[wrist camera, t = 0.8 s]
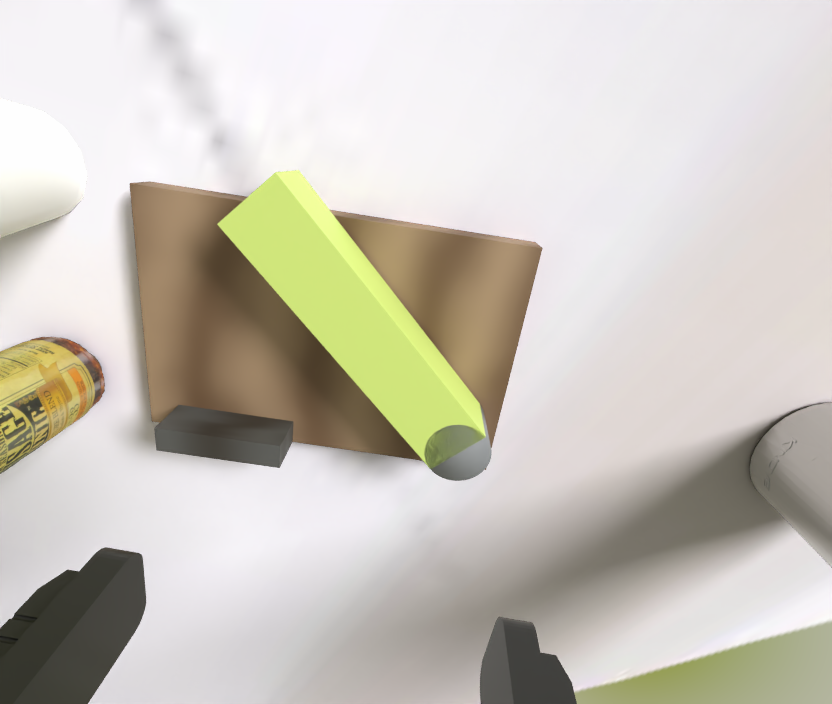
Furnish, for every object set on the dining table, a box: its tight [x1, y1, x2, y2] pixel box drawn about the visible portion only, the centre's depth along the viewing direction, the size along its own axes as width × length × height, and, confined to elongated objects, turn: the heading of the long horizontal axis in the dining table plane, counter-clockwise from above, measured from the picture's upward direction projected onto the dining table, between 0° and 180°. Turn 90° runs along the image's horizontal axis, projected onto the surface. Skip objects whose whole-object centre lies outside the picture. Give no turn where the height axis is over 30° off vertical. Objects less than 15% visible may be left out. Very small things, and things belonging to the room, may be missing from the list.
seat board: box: [130, 182, 542, 470], centre depth 29 cm, size 24×16×5 cm, turn 81°
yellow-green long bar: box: [217, 170, 491, 481], centre depth 27 cm, size 20×4×4 cm, turn 37°
